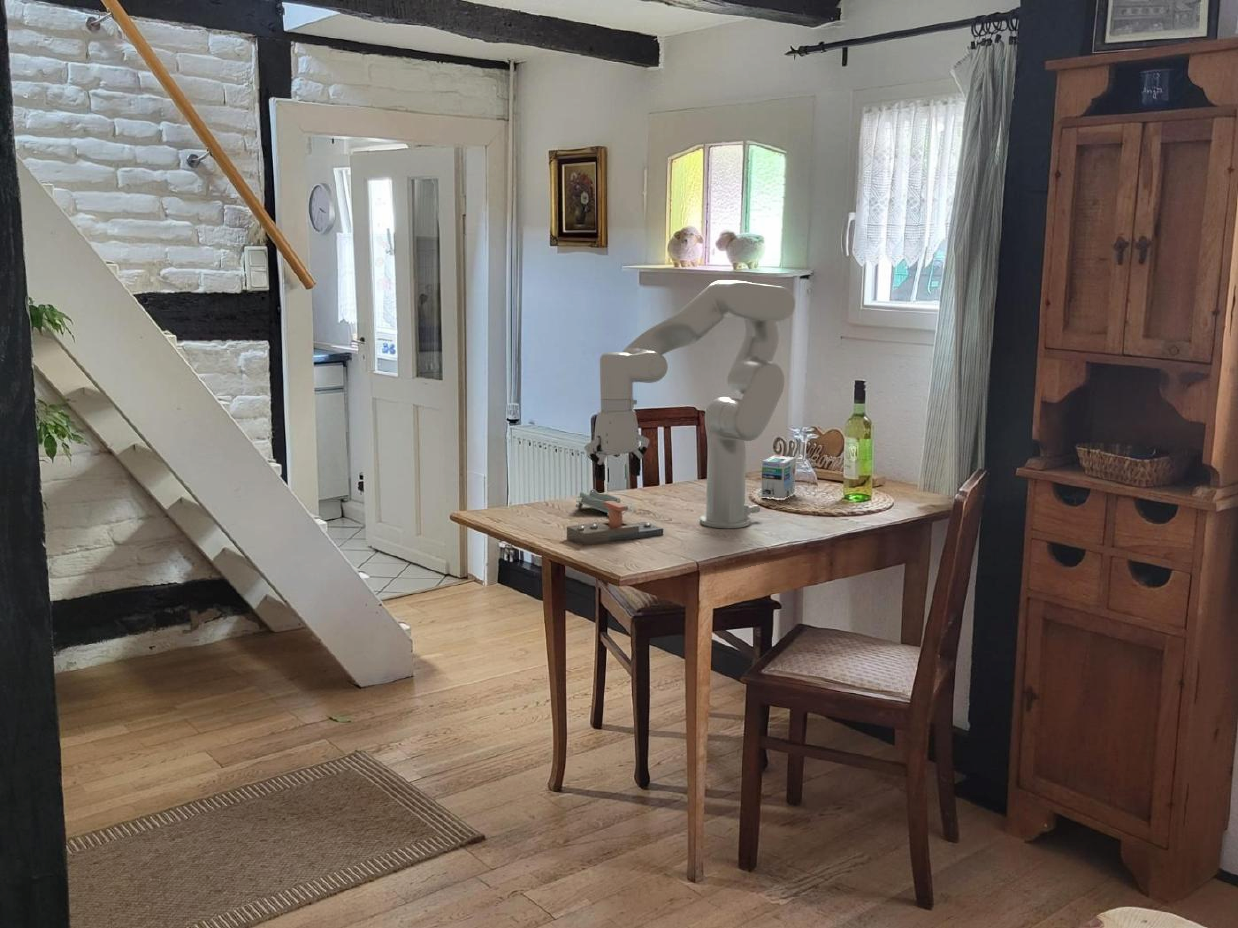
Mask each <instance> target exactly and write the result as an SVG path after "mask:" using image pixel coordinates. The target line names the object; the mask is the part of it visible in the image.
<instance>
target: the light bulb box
mask: <svg viewBox="0 0 1238 928" xmlns="http://www.w3.org/2000/svg"><path fill="white" fill-rule="evenodd" d="M796 458H797V457H796V456H795V457H793V456H783V455H782V456H781V455H776V454H775V455H772V456H770V457H768V458H766V459H764V460H762V462H761V464H762V465H761V490H760V491H761V492H760V493H761V494H760V498H761V497H774V498H785V497H788V496H790V495H791V494H793V493H794V492H795V488H796V487H795V486H796V466H797V465H796V463H797V462H796V461H797V459H796Z"/></svg>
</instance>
